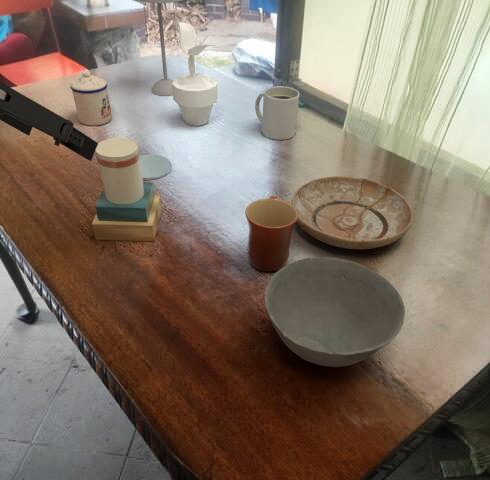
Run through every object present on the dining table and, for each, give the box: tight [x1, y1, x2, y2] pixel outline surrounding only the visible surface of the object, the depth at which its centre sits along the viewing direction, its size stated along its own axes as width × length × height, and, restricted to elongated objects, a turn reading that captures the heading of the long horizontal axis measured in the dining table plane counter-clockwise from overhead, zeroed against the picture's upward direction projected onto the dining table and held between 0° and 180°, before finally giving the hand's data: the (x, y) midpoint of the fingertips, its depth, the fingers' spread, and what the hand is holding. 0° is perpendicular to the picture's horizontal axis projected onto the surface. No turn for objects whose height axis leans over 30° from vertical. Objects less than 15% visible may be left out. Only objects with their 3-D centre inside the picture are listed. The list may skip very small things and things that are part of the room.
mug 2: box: [245, 195, 298, 273], centre depth 79 cm, size 12×9×10 cm
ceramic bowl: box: [290, 175, 414, 250], centre depth 89 cm, size 23×24×5 cm
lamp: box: [133, 0, 184, 97], centre depth 125 cm, size 17×17×33 cm
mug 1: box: [254, 85, 300, 141], centre depth 116 cm, size 11×10×10 cm
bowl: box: [264, 256, 406, 368], centre depth 65 cm, size 19×19×10 cm
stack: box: [91, 181, 163, 242], centre depth 86 cm, size 11×11×6 cm
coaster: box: [139, 154, 173, 181], centre depth 104 cm, size 11×11×1 cm
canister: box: [95, 137, 145, 204], centre depth 81 cm, size 7×7×9 cm
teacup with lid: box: [69, 70, 113, 127], centre depth 118 cm, size 12×9×12 cm
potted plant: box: [166, 13, 218, 127], centre depth 113 cm, size 13×12×25 cm
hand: (60, 138), depth 68 cm, fingers open, 13 cm apart
